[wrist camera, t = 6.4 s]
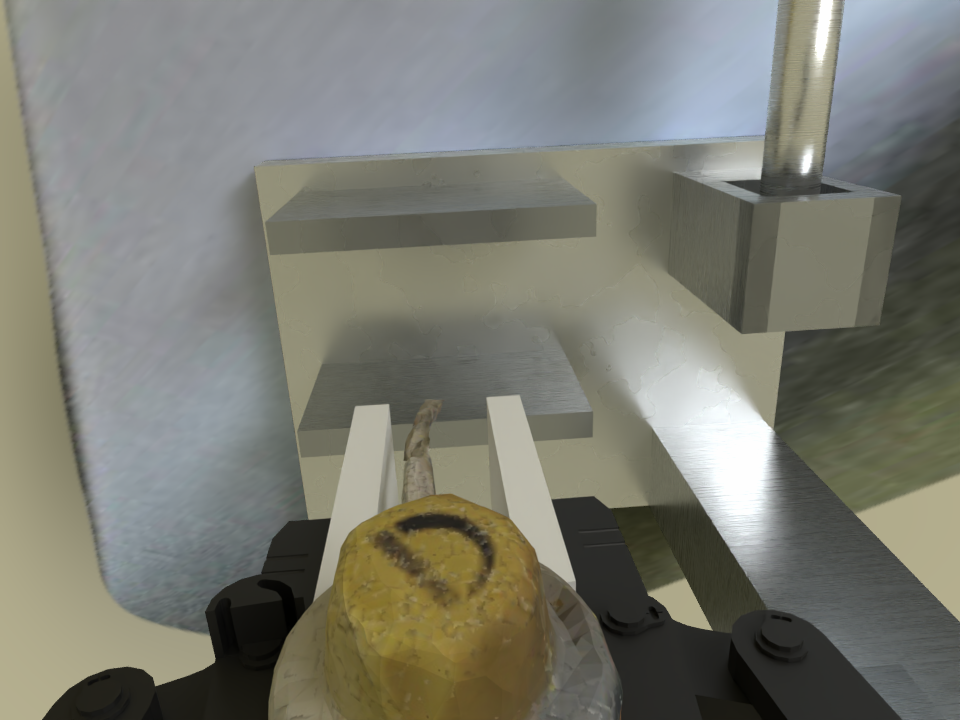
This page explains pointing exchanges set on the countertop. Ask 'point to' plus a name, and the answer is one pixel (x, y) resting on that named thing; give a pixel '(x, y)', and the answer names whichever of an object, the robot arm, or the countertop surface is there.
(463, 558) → the regulator
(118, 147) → the countertop surface
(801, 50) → the lever
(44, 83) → the countertop surface
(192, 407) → the countertop surface
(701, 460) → the press
